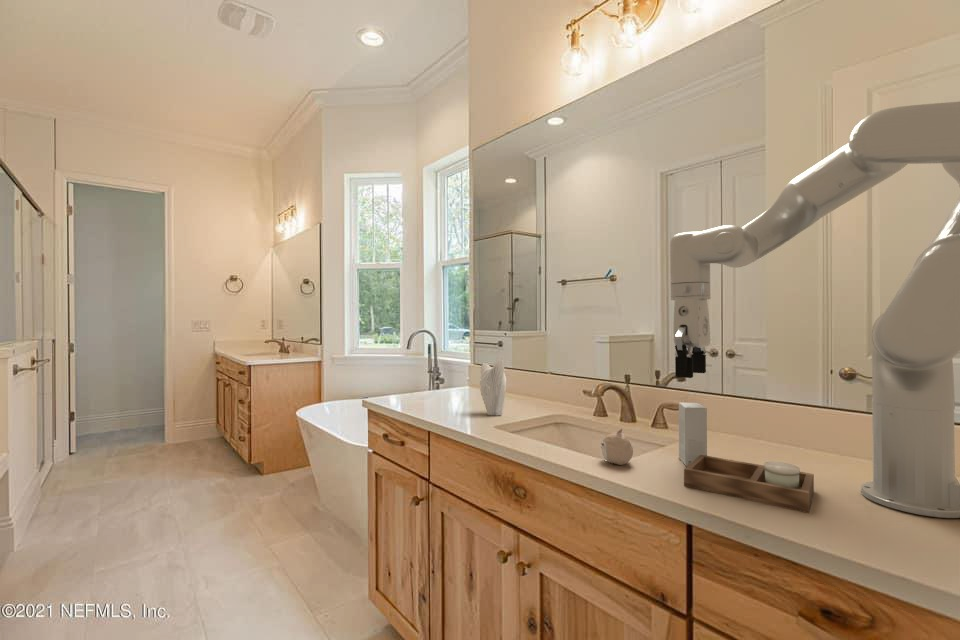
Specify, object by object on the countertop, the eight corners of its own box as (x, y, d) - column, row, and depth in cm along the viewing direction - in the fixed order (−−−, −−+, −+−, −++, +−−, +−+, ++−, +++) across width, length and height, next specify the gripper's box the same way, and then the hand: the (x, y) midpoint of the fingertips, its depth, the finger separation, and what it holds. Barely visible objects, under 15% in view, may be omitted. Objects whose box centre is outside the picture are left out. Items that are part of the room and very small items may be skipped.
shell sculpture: (481, 412, 147) (480, 357, 147) (506, 412, 146) (505, 357, 146) (480, 417, 139) (479, 359, 139) (506, 417, 138) (506, 359, 138)
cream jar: (801, 491, 76) (801, 465, 76) (798, 500, 72) (798, 473, 72) (766, 484, 79) (766, 459, 79) (762, 492, 75) (761, 467, 75)
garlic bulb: (597, 465, 92) (596, 426, 92) (605, 456, 98) (605, 420, 98) (630, 470, 89) (629, 429, 89) (637, 461, 95) (636, 423, 95)
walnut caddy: (813, 491, 77) (813, 474, 77) (808, 512, 69) (808, 493, 69) (700, 469, 89) (700, 454, 89) (684, 485, 80) (683, 469, 80)
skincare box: (708, 467, 90) (707, 407, 90) (685, 466, 91) (684, 407, 91) (699, 458, 96) (699, 402, 96) (678, 457, 97) (677, 402, 97)
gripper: (698, 289, 85) (699, 380, 85) (719, 293, 98) (720, 372, 98) (657, 291, 89) (658, 378, 89) (683, 295, 103) (684, 370, 103)
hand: (691, 374), depth 94 cm, fingers open, 9 cm apart
